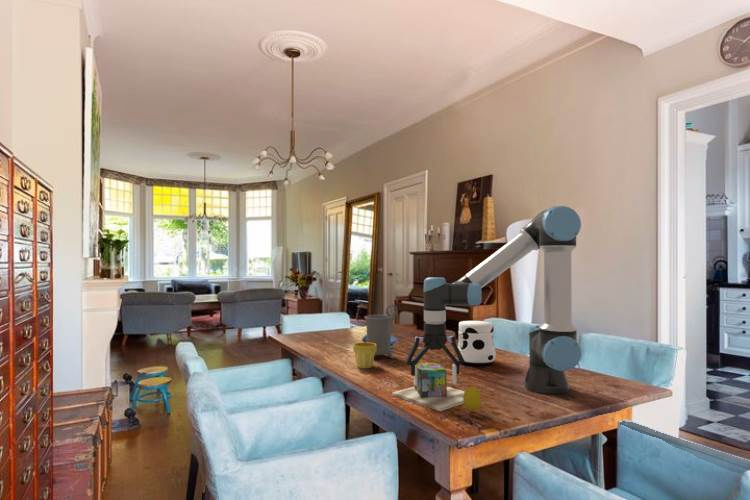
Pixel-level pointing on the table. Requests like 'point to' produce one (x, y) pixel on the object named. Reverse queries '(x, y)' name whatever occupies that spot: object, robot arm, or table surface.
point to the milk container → (476, 342)
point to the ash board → (432, 398)
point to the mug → (380, 331)
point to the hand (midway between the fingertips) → (435, 384)
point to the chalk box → (431, 380)
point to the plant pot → (364, 354)
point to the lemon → (472, 398)
